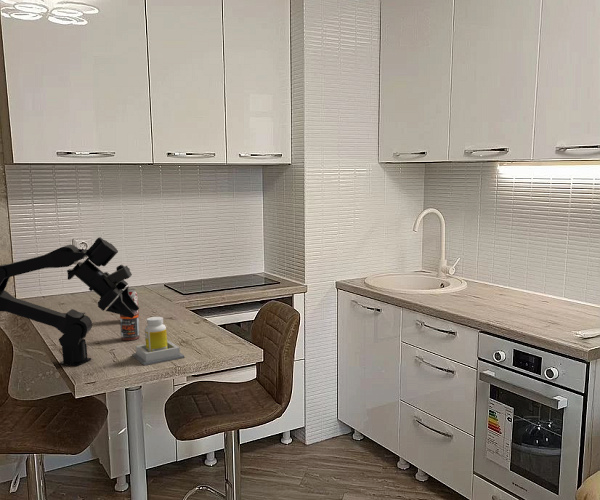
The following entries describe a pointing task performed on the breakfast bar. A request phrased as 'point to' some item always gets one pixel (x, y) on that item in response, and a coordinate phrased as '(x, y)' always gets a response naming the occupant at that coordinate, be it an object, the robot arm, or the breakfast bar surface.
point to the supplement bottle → (130, 327)
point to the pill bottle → (155, 334)
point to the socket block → (157, 354)
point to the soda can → (134, 297)
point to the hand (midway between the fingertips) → (135, 313)
